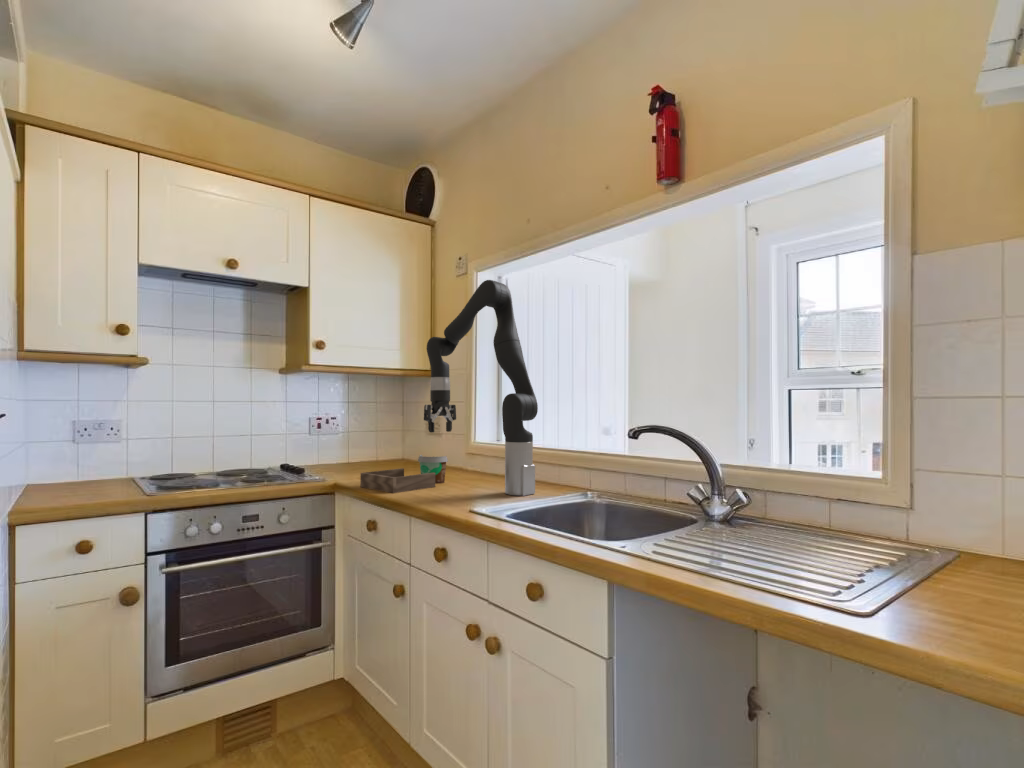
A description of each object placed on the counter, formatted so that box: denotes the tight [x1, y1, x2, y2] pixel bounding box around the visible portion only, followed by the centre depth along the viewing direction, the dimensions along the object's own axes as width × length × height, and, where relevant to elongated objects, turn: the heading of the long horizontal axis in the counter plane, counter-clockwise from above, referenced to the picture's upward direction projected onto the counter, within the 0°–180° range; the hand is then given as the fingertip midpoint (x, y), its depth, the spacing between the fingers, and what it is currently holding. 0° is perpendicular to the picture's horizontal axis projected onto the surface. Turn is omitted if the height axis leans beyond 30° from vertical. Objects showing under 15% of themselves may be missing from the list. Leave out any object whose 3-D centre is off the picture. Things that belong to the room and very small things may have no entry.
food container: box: [417, 454, 449, 485], centre depth 203 cm, size 12×6×10 cm, turn 64°
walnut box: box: [359, 467, 436, 494], centre depth 193 cm, size 19×18×5 cm
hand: (440, 431), depth 206 cm, fingers open, 8 cm apart
